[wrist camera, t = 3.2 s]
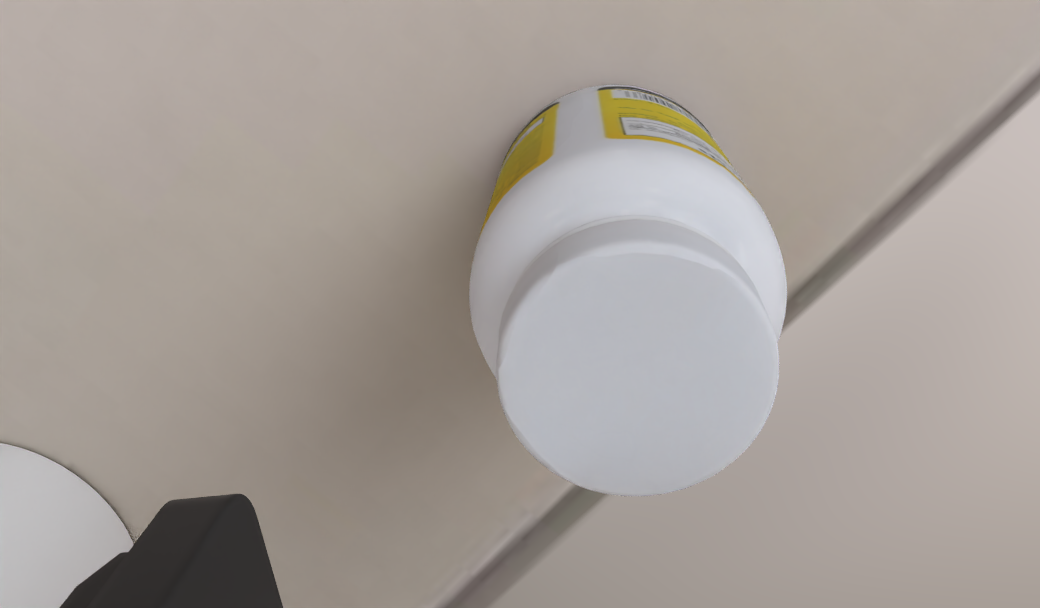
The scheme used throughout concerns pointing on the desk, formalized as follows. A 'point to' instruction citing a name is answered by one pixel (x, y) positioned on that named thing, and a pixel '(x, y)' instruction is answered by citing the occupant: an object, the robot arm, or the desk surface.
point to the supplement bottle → (628, 295)
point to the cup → (50, 531)
